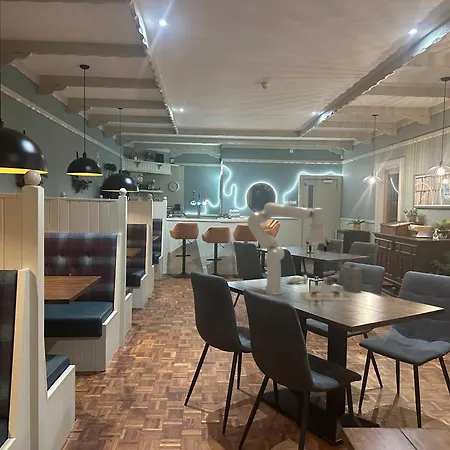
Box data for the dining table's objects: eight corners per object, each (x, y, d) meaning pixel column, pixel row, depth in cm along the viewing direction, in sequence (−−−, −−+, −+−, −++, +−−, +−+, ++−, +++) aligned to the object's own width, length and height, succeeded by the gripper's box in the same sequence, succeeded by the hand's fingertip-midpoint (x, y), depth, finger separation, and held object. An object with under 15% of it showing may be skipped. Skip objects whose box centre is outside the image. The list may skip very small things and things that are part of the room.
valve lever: (322, 281, 290) (322, 275, 290) (327, 281, 291) (327, 275, 290) (328, 285, 277) (328, 279, 277) (333, 285, 277) (333, 279, 277)
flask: (340, 289, 317) (341, 262, 316) (346, 288, 320) (347, 262, 319) (356, 293, 304) (357, 265, 303) (362, 292, 307) (363, 264, 306)
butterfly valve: (289, 284, 332) (310, 282, 335) (285, 259, 336) (305, 257, 340) (286, 286, 340) (306, 283, 343) (281, 261, 345) (302, 259, 348)
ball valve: (305, 299, 281) (306, 282, 280) (300, 294, 297) (300, 278, 296) (350, 300, 282) (351, 282, 282) (342, 294, 298) (343, 278, 298)
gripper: (303, 226, 286) (303, 252, 287) (329, 226, 279) (330, 252, 280) (305, 226, 293) (306, 250, 294) (331, 226, 286) (331, 251, 287)
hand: (317, 251), depth 287 cm, fingers open, 9 cm apart
